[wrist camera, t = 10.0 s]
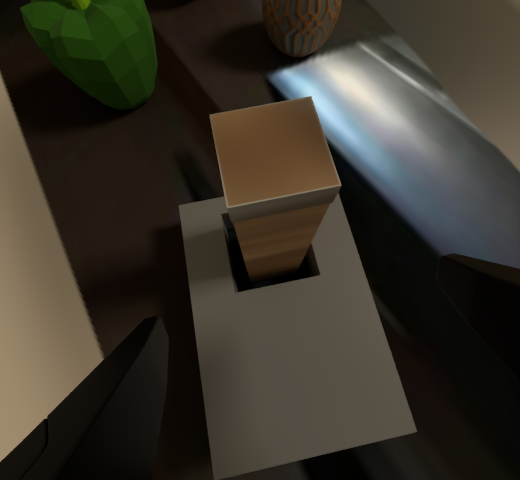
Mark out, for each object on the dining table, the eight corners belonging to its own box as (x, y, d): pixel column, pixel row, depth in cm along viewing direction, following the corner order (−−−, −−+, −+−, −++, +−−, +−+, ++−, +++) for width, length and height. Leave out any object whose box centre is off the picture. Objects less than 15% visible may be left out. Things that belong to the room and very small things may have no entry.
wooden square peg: (297, 272, 21) (341, 185, 9) (250, 282, 21) (227, 208, 9) (286, 228, 22) (310, 96, 10) (241, 237, 22) (209, 114, 10)
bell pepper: (190, 79, 27) (149, -57, 18) (130, 138, 25) (49, 20, 16) (127, 43, 29) (59, -99, 20) (66, 95, 27) (-42, -34, 18)
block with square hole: (393, 416, 18) (417, 431, 15) (222, 457, 18) (214, 480, 15) (324, 195, 23) (332, 175, 20) (189, 221, 23) (178, 205, 20)
